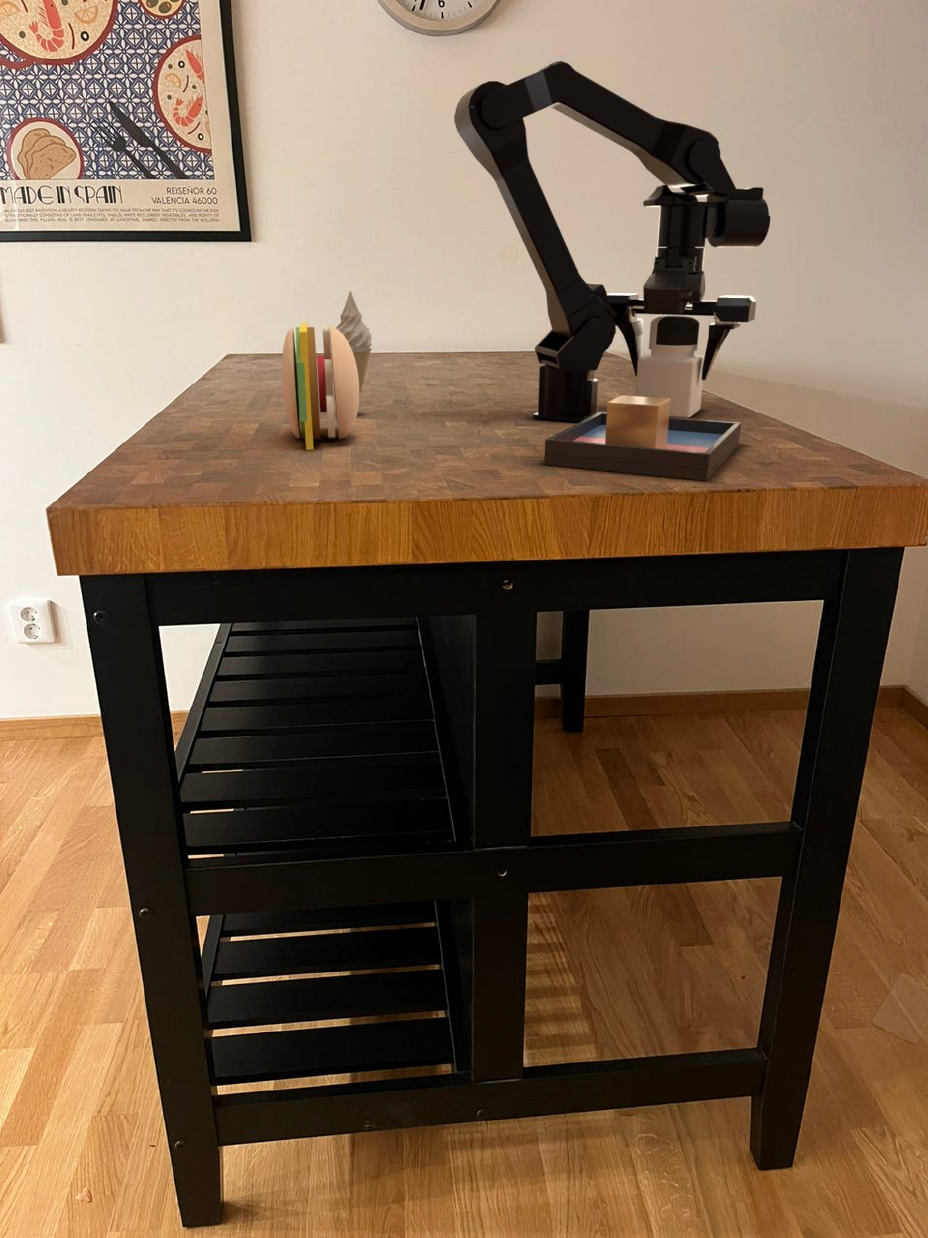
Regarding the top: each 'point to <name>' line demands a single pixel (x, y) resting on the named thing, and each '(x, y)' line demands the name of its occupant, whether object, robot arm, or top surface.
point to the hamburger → (304, 385)
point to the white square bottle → (672, 365)
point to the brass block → (638, 421)
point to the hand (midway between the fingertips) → (670, 378)
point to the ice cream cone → (356, 337)
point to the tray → (646, 449)
